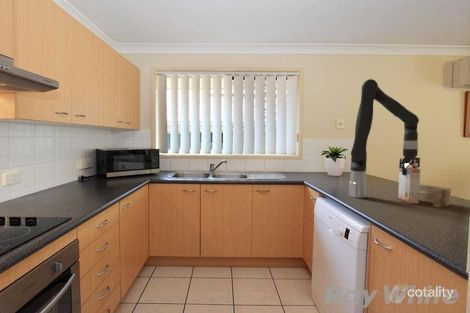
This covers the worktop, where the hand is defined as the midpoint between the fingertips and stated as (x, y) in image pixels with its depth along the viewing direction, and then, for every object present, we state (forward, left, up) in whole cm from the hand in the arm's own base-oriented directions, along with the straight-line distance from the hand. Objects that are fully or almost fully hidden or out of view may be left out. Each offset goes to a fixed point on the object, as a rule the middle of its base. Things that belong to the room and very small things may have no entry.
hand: (409, 174), depth 166 cm
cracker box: (0, 0, -16) cm, 16 cm away
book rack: (+7, -6, -16) cm, 19 cm away
